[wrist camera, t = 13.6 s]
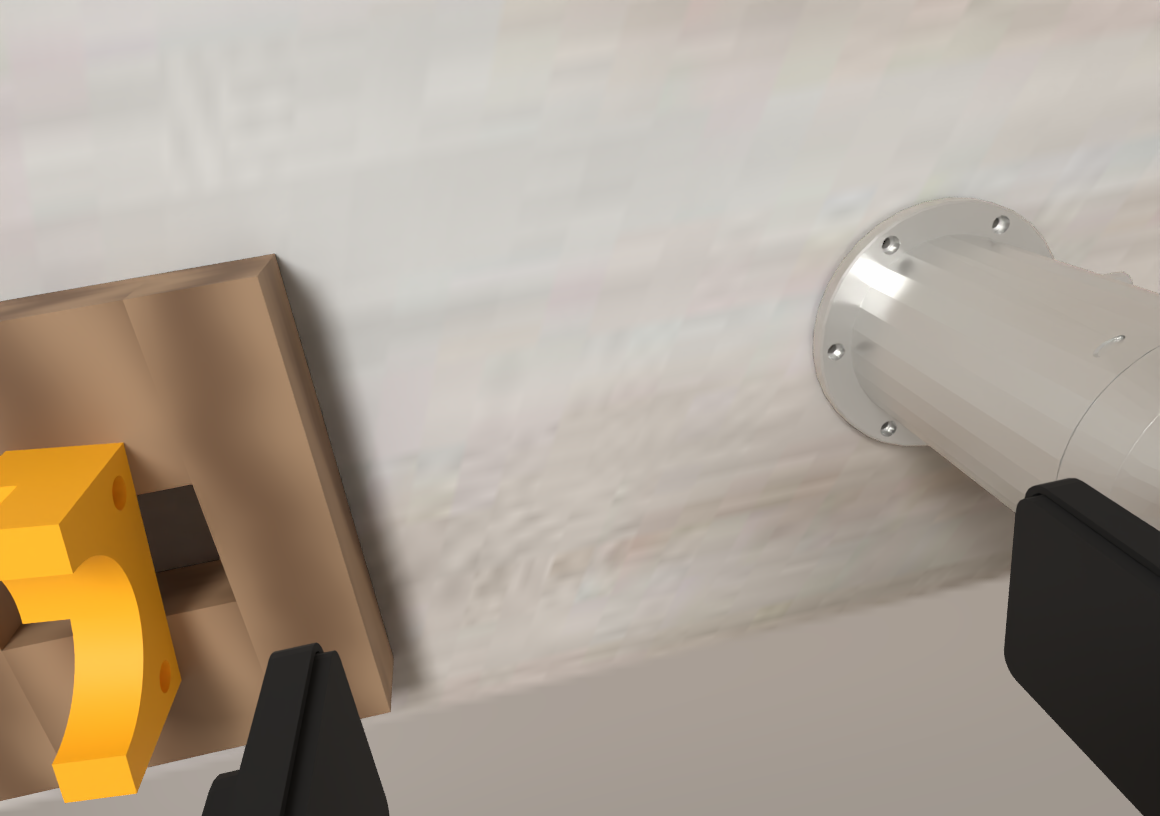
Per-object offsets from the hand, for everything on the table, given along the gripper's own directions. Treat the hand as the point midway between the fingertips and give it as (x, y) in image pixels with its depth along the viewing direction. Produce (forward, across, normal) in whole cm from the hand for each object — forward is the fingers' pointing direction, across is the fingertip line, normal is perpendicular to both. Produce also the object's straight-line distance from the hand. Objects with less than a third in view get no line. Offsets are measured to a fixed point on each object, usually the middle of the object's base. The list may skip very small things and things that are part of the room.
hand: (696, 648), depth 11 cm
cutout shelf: (+28, +20, +10) cm, 36 cm away
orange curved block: (+24, +20, +10) cm, 33 cm away
